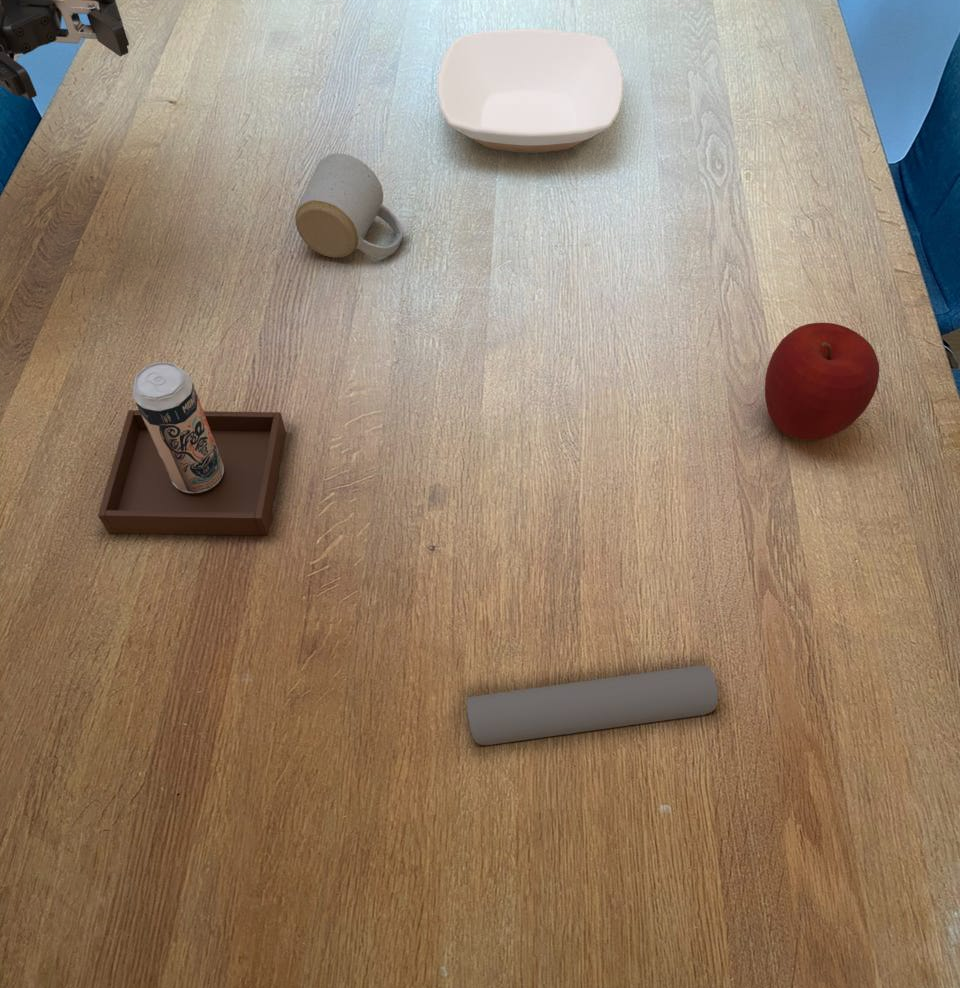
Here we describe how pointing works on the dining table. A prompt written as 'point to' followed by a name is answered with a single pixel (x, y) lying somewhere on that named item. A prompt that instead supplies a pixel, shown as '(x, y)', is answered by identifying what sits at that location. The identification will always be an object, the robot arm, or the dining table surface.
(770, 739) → the dining table surface
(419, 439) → the dining table surface
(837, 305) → the dining table surface
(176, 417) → the beer can
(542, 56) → the bowl
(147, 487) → the serving tray
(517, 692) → the half round rod
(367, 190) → the ceramic mug
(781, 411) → the apple
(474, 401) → the dining table surface
